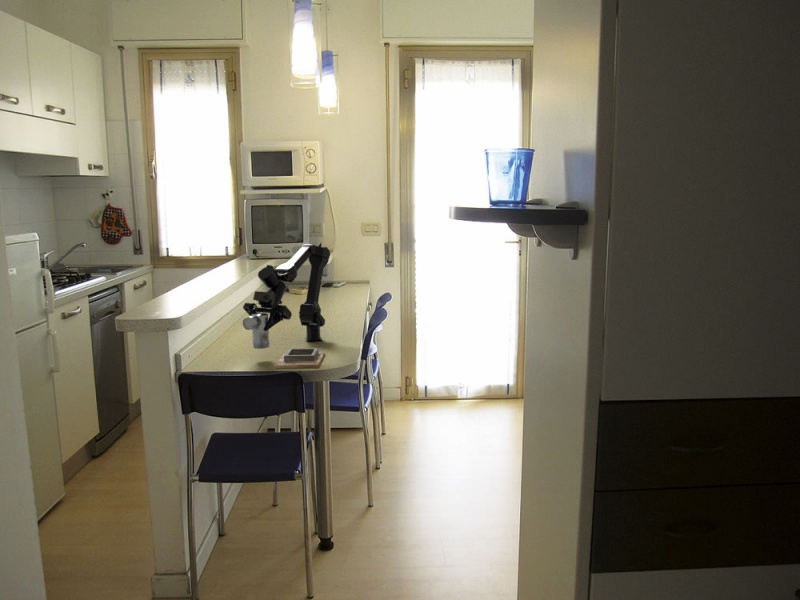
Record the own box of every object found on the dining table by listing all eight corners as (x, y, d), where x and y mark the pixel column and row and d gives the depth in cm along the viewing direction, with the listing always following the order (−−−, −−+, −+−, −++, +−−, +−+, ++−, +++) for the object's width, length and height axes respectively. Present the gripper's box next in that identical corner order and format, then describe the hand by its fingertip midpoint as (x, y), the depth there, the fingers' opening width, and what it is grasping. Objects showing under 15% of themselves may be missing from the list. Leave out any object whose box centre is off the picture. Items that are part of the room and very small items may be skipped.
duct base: (284, 354, 242) (284, 347, 242) (324, 354, 242) (324, 346, 242) (275, 368, 225) (275, 359, 224) (318, 367, 224) (317, 359, 224)
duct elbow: (259, 344, 239) (258, 312, 237) (273, 345, 237) (271, 313, 235) (242, 350, 230) (240, 317, 228) (255, 352, 228) (253, 318, 226)
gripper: (244, 281, 239) (226, 315, 231) (285, 283, 231) (268, 319, 223) (258, 298, 247) (241, 332, 239) (299, 301, 239) (282, 336, 231)
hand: (258, 329), depth 233 cm, fingers closed on duct elbow, 6 cm apart
